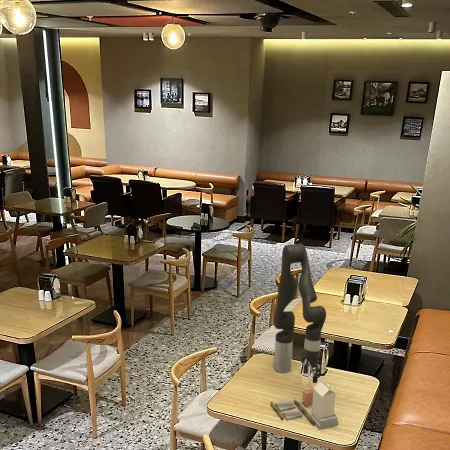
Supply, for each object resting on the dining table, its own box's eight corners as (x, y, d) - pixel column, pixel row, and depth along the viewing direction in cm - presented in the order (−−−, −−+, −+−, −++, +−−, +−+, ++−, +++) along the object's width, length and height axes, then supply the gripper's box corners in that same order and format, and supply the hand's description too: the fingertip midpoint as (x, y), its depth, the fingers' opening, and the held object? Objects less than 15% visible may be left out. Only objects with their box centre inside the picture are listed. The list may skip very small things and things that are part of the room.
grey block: (297, 404, 231) (298, 391, 229) (315, 400, 234) (316, 387, 233) (319, 429, 213) (320, 415, 212) (338, 424, 217) (339, 411, 215)
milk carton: (320, 426, 215) (323, 388, 211) (311, 417, 222) (313, 380, 217) (333, 422, 218) (336, 385, 214) (324, 413, 225) (327, 377, 220)
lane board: (270, 405, 230) (270, 402, 229) (314, 395, 238) (314, 392, 238) (290, 431, 212) (290, 427, 211) (336, 420, 220) (337, 416, 219)
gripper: (297, 341, 229) (295, 371, 233) (313, 355, 216) (310, 387, 220) (311, 338, 232) (309, 369, 236) (327, 352, 219) (325, 384, 223)
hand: (310, 377), depth 228 cm, fingers open, 8 cm apart
